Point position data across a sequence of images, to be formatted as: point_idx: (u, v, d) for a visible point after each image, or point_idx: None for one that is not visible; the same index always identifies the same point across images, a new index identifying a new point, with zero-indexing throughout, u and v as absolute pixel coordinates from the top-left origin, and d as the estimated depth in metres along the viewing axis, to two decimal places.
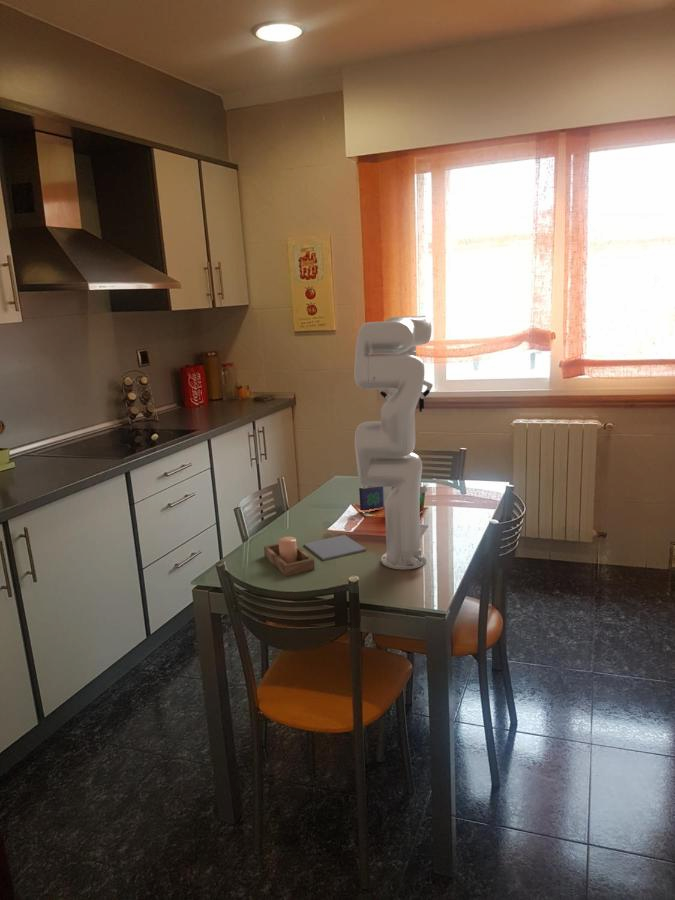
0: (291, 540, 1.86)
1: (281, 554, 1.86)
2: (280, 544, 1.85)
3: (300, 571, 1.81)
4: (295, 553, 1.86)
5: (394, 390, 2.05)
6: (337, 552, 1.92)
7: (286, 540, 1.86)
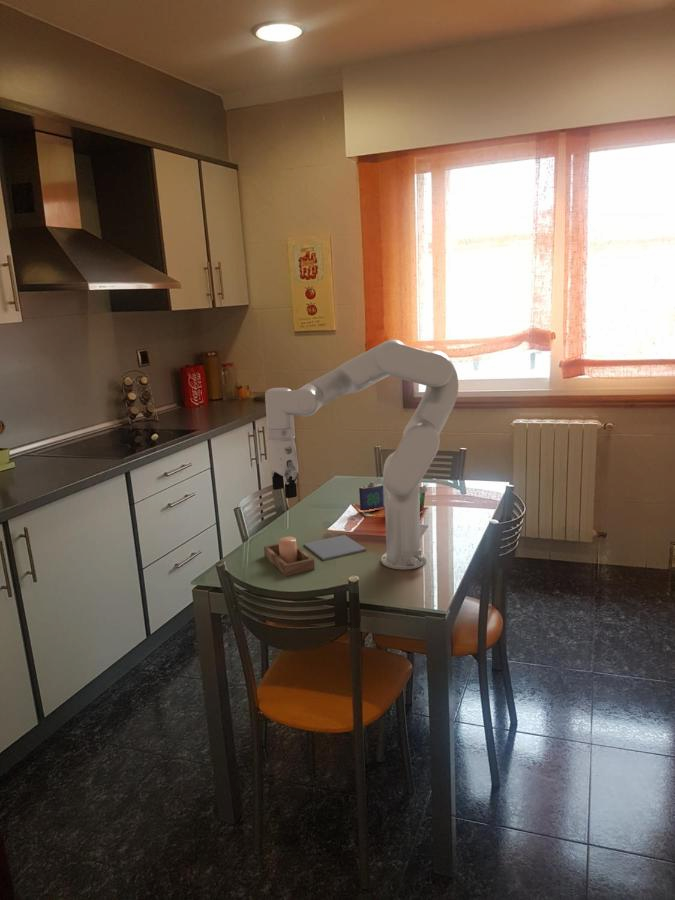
0: (291, 540, 1.86)
1: (281, 554, 1.86)
2: (280, 544, 1.85)
3: (300, 571, 1.81)
4: (295, 553, 1.86)
5: None
6: (337, 552, 1.92)
7: (286, 540, 1.86)
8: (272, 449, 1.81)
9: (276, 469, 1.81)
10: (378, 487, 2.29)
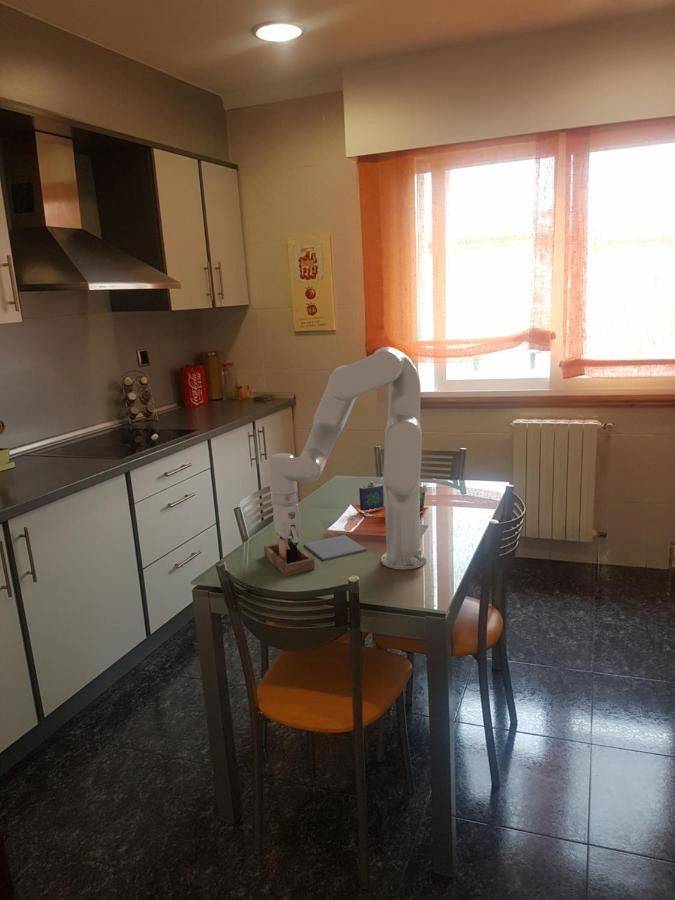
0: None
1: (281, 554, 1.86)
2: (280, 544, 1.85)
3: (300, 571, 1.81)
4: None
5: None
6: (337, 552, 1.92)
7: None
8: (276, 513, 1.85)
9: (280, 532, 1.85)
10: (378, 487, 2.29)
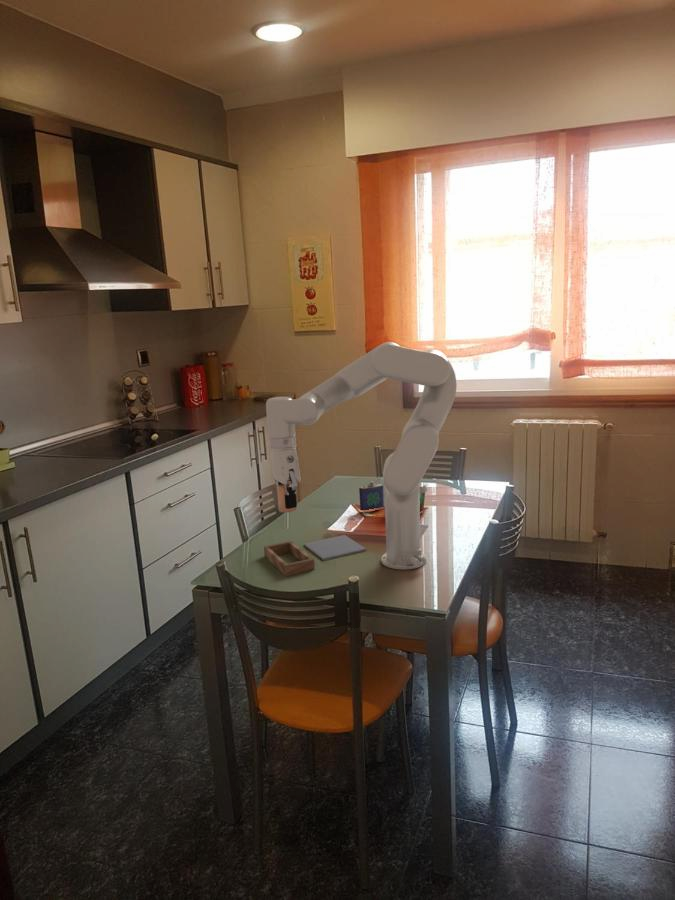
0: (289, 485, 1.83)
1: (279, 500, 1.83)
2: (278, 490, 1.82)
3: (300, 571, 1.81)
4: None
5: None
6: (337, 552, 1.92)
7: None
8: (274, 458, 1.82)
9: (278, 478, 1.82)
10: (378, 487, 2.29)
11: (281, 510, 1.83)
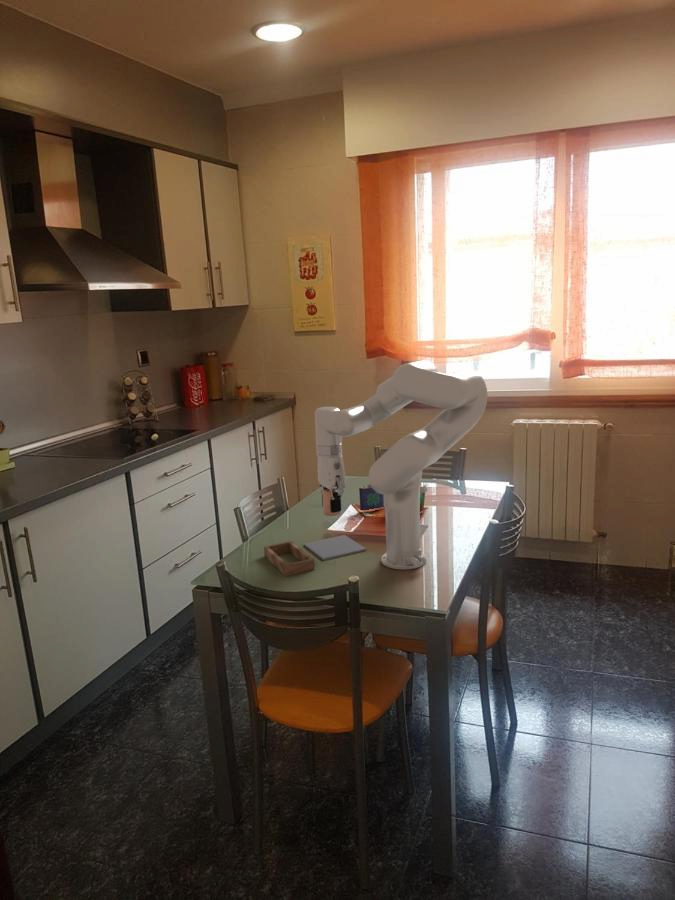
0: None
1: (325, 504, 1.93)
2: (324, 494, 1.92)
3: (300, 571, 1.81)
4: None
5: None
6: (337, 552, 1.92)
7: None
8: (320, 464, 1.92)
9: (324, 483, 1.92)
10: None
11: (326, 514, 1.93)
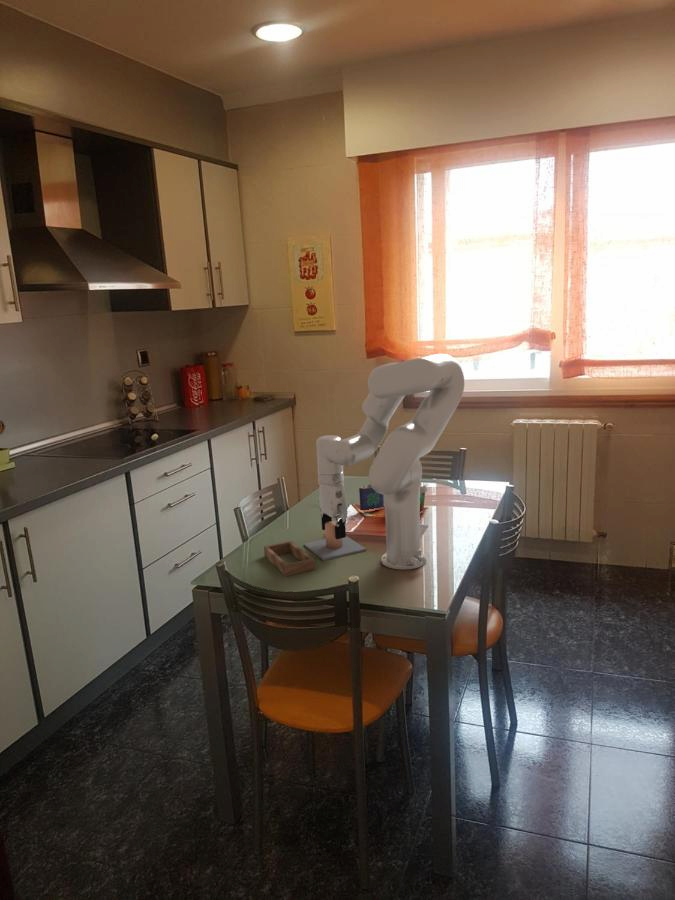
0: None
1: (327, 538, 1.95)
2: (327, 528, 1.95)
3: (300, 571, 1.81)
4: None
5: None
6: (337, 552, 1.92)
7: (333, 524, 1.95)
8: (322, 492, 1.94)
9: (326, 511, 1.94)
10: None
11: (329, 547, 1.96)
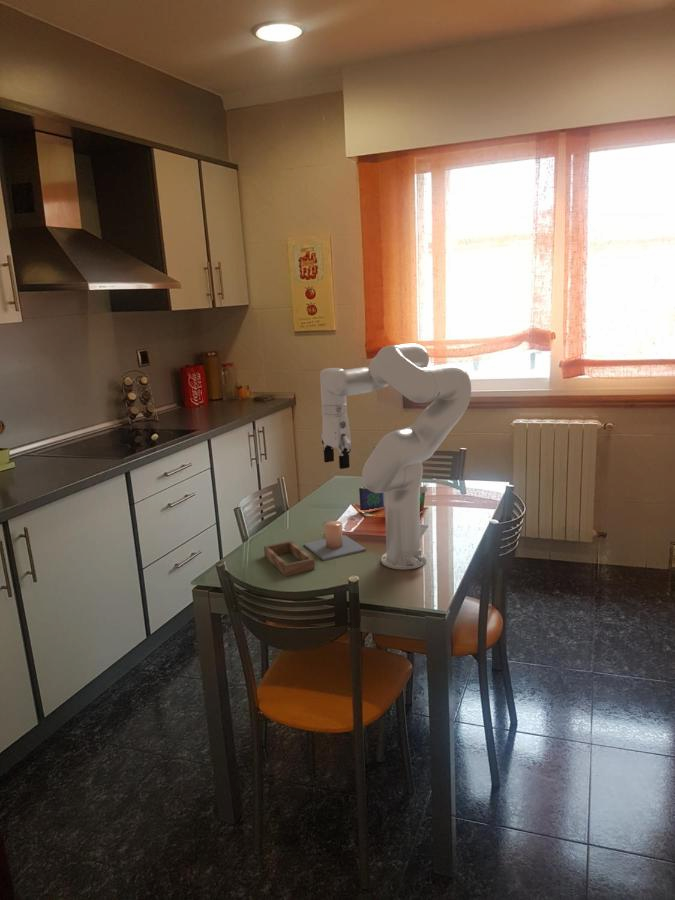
0: (337, 524, 1.96)
1: (328, 537, 1.95)
2: (327, 528, 1.95)
3: (300, 571, 1.81)
4: (341, 537, 1.96)
5: None
6: (337, 552, 1.92)
7: (333, 524, 1.95)
8: (326, 424, 1.98)
9: (330, 442, 1.98)
10: None
11: (329, 547, 1.96)
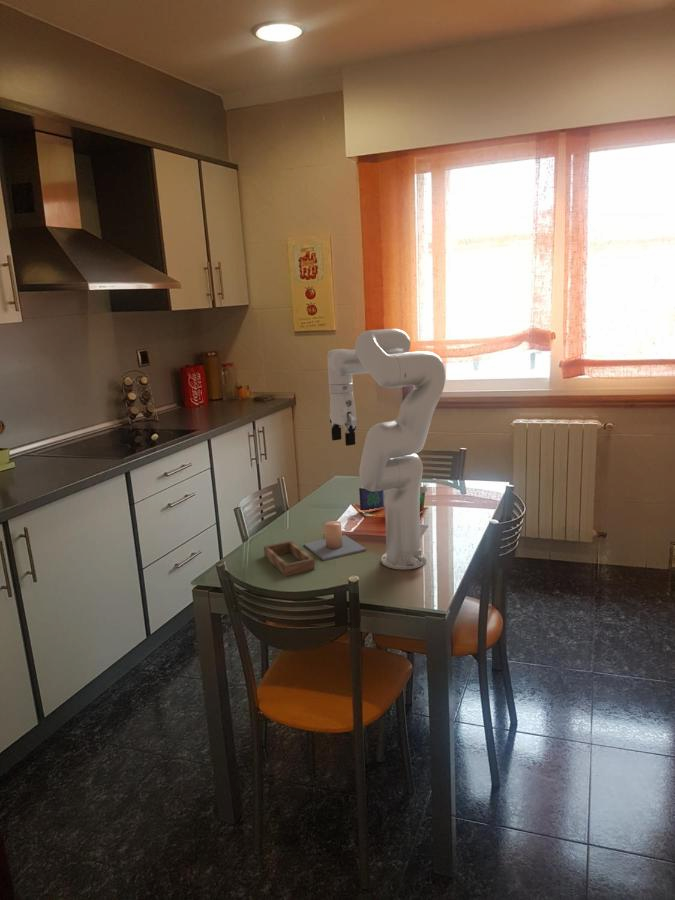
0: (336, 523, 1.96)
1: (327, 537, 1.95)
2: (326, 528, 1.95)
3: (300, 571, 1.81)
4: (340, 536, 1.96)
5: None
6: (337, 552, 1.92)
7: (332, 524, 1.96)
8: (333, 403, 2.07)
9: (337, 421, 2.07)
10: None
11: (329, 547, 1.96)
